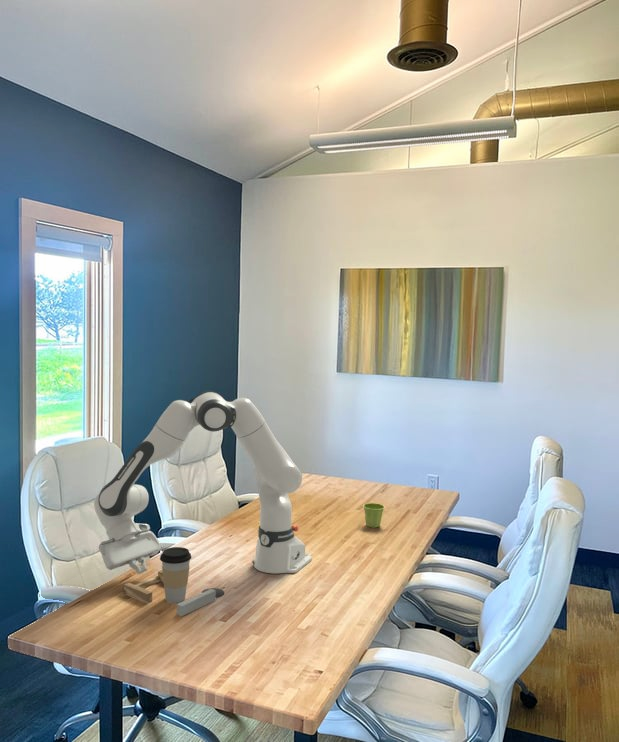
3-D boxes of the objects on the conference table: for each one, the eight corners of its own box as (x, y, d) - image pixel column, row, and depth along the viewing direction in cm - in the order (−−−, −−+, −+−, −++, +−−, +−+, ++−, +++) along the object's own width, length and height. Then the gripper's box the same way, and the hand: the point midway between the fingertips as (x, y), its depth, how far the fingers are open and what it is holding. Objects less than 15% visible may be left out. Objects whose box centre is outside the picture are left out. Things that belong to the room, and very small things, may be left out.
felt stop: (210, 598, 192) (210, 588, 192) (215, 600, 191) (215, 590, 191) (176, 614, 181) (177, 604, 181) (181, 616, 180) (181, 606, 179)
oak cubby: (161, 578, 206) (162, 569, 206) (185, 587, 200) (185, 578, 199) (123, 593, 193) (124, 584, 193) (147, 603, 187) (147, 594, 187)
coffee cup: (196, 595, 194) (197, 548, 193) (180, 608, 185) (181, 558, 184) (169, 590, 197) (170, 544, 196) (153, 602, 188) (153, 554, 187)
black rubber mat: (212, 586, 201) (212, 586, 201) (228, 592, 197) (228, 592, 197) (196, 594, 195) (196, 593, 195) (213, 600, 191) (213, 599, 191)
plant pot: (383, 522, 274) (384, 503, 273) (384, 529, 265) (385, 509, 264) (362, 521, 275) (363, 502, 274) (362, 528, 265) (362, 508, 265)
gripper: (101, 538, 194) (120, 576, 189) (152, 523, 211) (171, 558, 206) (92, 548, 197) (111, 587, 192) (143, 533, 214) (161, 568, 209)
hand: (142, 572), depth 199 cm, fingers closed
